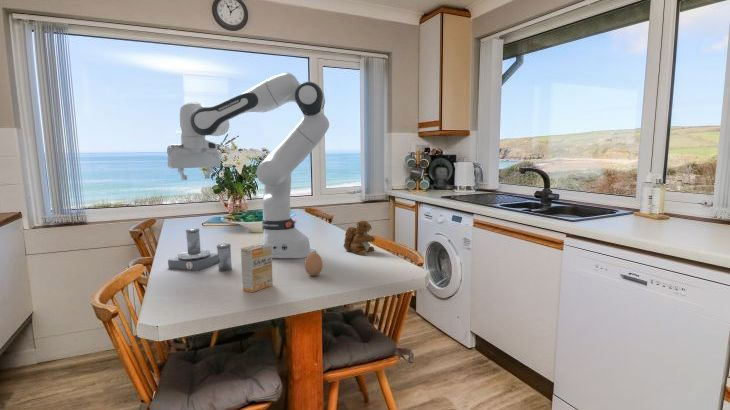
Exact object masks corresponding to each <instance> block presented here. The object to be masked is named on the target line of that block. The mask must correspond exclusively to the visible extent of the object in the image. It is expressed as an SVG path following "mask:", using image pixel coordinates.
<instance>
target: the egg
mask: <svg viewBox="0 0 730 410" xmlns="http://www.w3.org/2000/svg"><path fill="white" fill-rule="evenodd" d="M305 258H306V259H305V261H304V269H305V271H306V273H307V274H308V275H309V276H312V277H315V276H316V277H317V276H318V275H320V273H322V270H323V267H324V264H323V260H322V259H323V258H322V257H321V256H320V254H318V253H317V252H315V253H314V252H313V253H310V254H309V255H308V256H307V257H305Z"/></svg>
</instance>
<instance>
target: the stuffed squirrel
mask: <svg viewBox="0 0 730 410" xmlns="http://www.w3.org/2000/svg"><path fill="white" fill-rule="evenodd" d="M355 225H356V227H354V226H349V227H348V228H347V229H346V231H345V234H344V235H345V236H344V240H343V241H344V244H343V248H344V249H345V251H347V252H348V253H349V252H353V253H354V254H355V255H360V256H366V255H367V253H368V252H370V251H371V252H372V251H375V247H374V246H370V243H371V242H373V243H374V242H375V241H376V238H375V236H374V235H371V234H368V233H370V231H372V230H373V228H372V226H371V224H370V223H369V222H368V221H366V220H360V221H356V222H355Z"/></svg>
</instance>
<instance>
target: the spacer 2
mask: <svg viewBox="0 0 730 410" xmlns="http://www.w3.org/2000/svg"><path fill="white" fill-rule="evenodd" d="M216 250H217V252H216V253H217V254H218V262H217V265H218V267H217V268H218V271H219V272H227V271H231V270H232V269H233V268H232V266H233V265H232V253H231V251H232V250H231V243H226V242H225V243H219V244H217V245H216Z"/></svg>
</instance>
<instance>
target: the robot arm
mask: <svg viewBox="0 0 730 410" xmlns="http://www.w3.org/2000/svg"><path fill="white" fill-rule="evenodd" d="M325 97H326V96H325V93H324V91H323V89H322V88H321V87H320V85H318V83H315V82H312V81H304V82H301V83H300V82H299V81H298V79H297V77H296V76H295V75H293V73H291V72H284V73H281V74H278V75H274V76H272V77H269V78H268V79H265V80H264V81H261V82H260V83H257V84H256V85H255V86H253V87H251V88H250V89H248V90H246V91H244V92H243V93H241V94H238V95H237V96H235V97H231V98H230V99H228V100H225V101H223V102H222V103H219V104H216V105H214V106H207V107H206V106H205V105H203V104H202V103H201V102H197V101H195V102H187V103H184V104H182V105H181V107H180V109H179V126H180V129H181V135H180V141H181V144H179V143H178V144H175V143H172V144H170V145H168V146H167V148H166V152H167V167H168V168H169V169H177V172H178V174H179V175H180V176H181V180H182V181H188V175H186V174H185V173H184V171H185V169H193V168H194V169H199V168H202V169H203V168H206V171H207V172H206V173H205V174H204V179H205V180H206V179H207V180H209V179H211V174H212V172H213V168H219V167H220V166H221V163H222V162H221V155H220V151H219V150H218V149H219V148H218V147H219V145H218V144H217V143H216V142H212V141H211V140H208V139H206V136H212V137H220V136H223V135H225V134H226V133H227V132H228V131H229V128H230V121H229V120H231V119H233V118H236V117H238V116H240V115H242V114H246V113H247V114H248V113H267V112H271V111H273V110H275V109H277V108H279V107H282V106H284V105H285V104H287V103H291V102H292V103H293V102H294V103H296V104H297V106H298V108H299V110H300V112H301V113H302V114H303V115H302V118H301V119H300V121H299V122H298V123H297V124H296V125H295V127H294V128H293V129H292V130H291V131H290V132H289V133H288V135H287V136H286V137H285V138H284V139H283V141H281V143H280V144H278V146H276V147H275V148H274V149H273V150H272V151H271V152H270V153H269V154H268V155H267V156H266V157H265V158H264V159H263V160H262V161H261V162H260V163H259V165H258V166H257V168H256V173H255V174H256V178H257V179H258V181H259V182H260V183H261V184H263V185H264V187H263V188H264V189H263V196H262V202H261V203H262V219H261V221H262V222H261V224H262V226H261V227H262V232H263V234H262V243H264V244H270V245H271V250H272V259H303V258H307V256H308V255H309V254H310V253H313V252H314V253H316V248H315V247H312V246H311V244H310V239H309V237H308V236H307V235H306V234H304V233H303V232H302V231H300V230H299V229H298V228H297V227H295V226H296V223H297V220H296V219H292V218H291V217H292V216H291V189H292V172H293V171H294V170H295V169H297V168H298V166H299V165H300V164H301V163H302V162H303V161H305V160H306V158H307V157H308V156H309V155H310V154H311V153H312V152H313V150H314V149H315V148H316V147H317V146H318V144H319V143H320V142H321V141H322V139H323V138H324V136H325V135H326V133H327V131H328V130H329V127H330V121H329V119H328V118H327V116H326V115H325V114H324V113H323V108H324V107H325V104H326V99H325Z"/></svg>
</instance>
